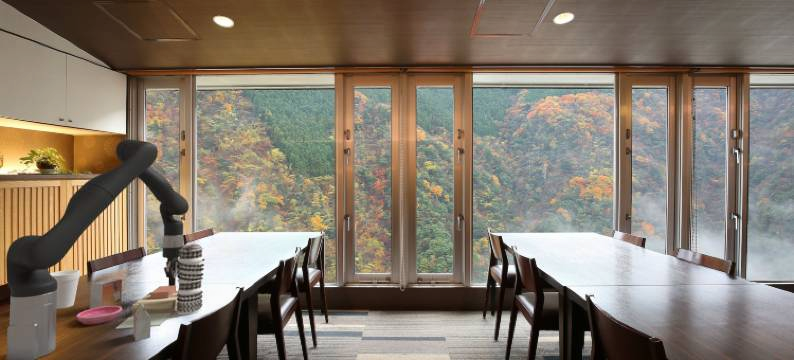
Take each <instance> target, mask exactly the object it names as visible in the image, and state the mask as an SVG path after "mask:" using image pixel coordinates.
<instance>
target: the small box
mask: <svg viewBox="0 0 794 360" xmlns="http://www.w3.org/2000/svg"><path fill="white" fill-rule="evenodd" d="M122 288H123V280H122V278H111V277H110V278H107V279H103V280H99V281H95V282H90V297H89V309H93V308H98V307H104V306H120V307H122V292H123V291H122Z"/></svg>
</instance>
